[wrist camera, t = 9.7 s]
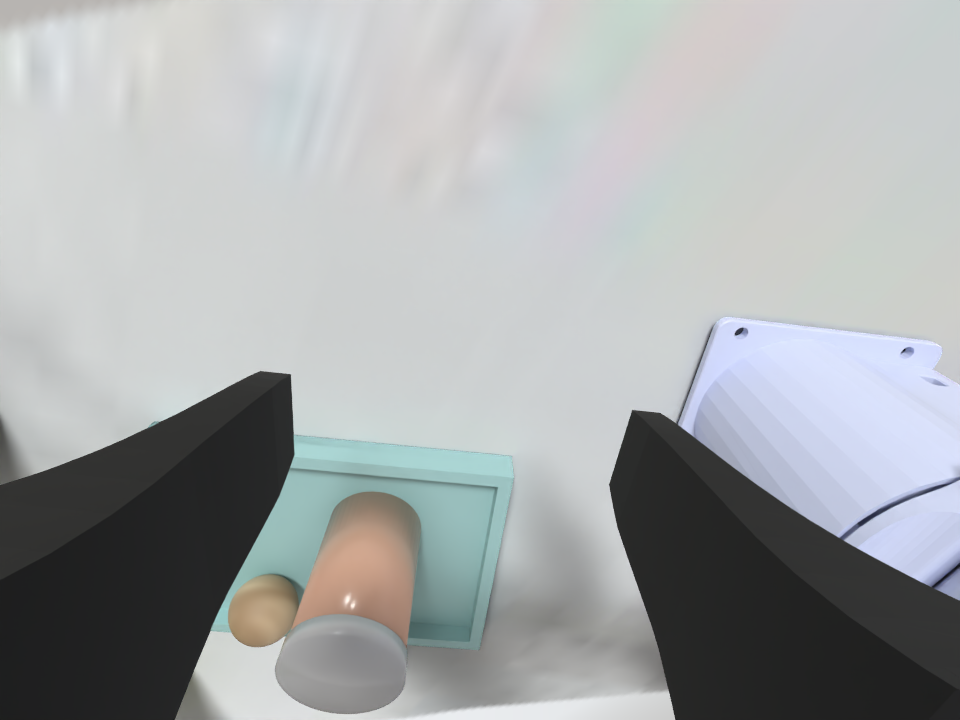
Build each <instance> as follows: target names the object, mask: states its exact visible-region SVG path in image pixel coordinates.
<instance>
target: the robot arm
mask: <svg viewBox="0 0 960 720" xmlns="http://www.w3.org/2000/svg"><path fill="white" fill-rule="evenodd" d="M742 327H744V328H743V331H742V333H741V334H739V335H735V332H736V330H737V329H739V328H742ZM905 348H906V350H905V351H904V352H903V353H901V352H902V350H903V349H905ZM941 355H942V347H941V346H940V345H938V344H936V343H934V342H932V341H927V340H919V339H910V338H902V337H894V336H885V335H877V334H868V333H860V332H851V331H843V330H834V329H826V328H818V327H809V326H801V325H792V324H784V323H775V322H767V321H758V320H750V319H742V318H733V317H725V318H722V319H720V320H719V321H718V322H716V324H715V325H714V327H713V330H712V332H711V335H710V338H709V341H708V343H707V346H706V349H705V352H704V354H703V357H702V360H701V363H700V365H699V368H698V371H697V374H696V376H695V379H694V382H693V385H692V387H691V390H690V393H689V396H688V398H687V401H686V404H685V407H684V409H683V412H682V415H681V418H680V420H679V423H678V425H677V424H676V423H675V422H673V421H672V420H670V419H669V418H667V417H666V416H664V415H662V414H661V413H655V412H646V411H636V410H632V413H631V416H630V419H629V422H628V426H627V429H626V432H625V435H624V439H623V442H622V445H621V448H620V451H619V455H618V458H617V461H616V464H615V468H614V471H613V474H612V477H611V480H610V484H609V486H610V492H611V497H612V503H613V508H614V513H615V518H616V522H617V527H618V530H619V533H620V536H621V539H622V542H623V545H624V548H625V551H626V554H627V557H628V560H629V562H630V565H631V568H632V571H633V574H634V577H635V580H636V582H637V585H638V588H639V591H640V594H641V597H642V599H643V602H644V605H645V608H646V611H647V614H648V617H649V619H650V622H651V625H652V628H653V632H654V635H655V638H656V641H657V645H658V648H659V652H660V656H661V660H662V664H663V668H664V673H665V677H666V681H667V685H668V689H669V693H670V697H671V702H672V706H673V710H674V715H675V720H960V385H959V384H958V383H956V382H954V381H952V380H951V379H949V378H947V377H945V376H944V375H942V374H940V373H939V372H937V371H935V370H933V369H934V367H935V365H936V364H937V362H938V360H939V359H940V357H941ZM294 455H295V452H294V432H293V411H292V391H291V374H282V373H273V372H263V371H260V372H258V373H255V374H253V375H251V376H249V377H247V378H245V379H243V380H241V381H239V382H237V383H235V384H233V385H231V386H229V387H227V388H226V389H224V390H222V391H220V392H218V393H216V394H214V395H212V396H211V397H209V398H207V399H205V400H203V401H201V402H199V403H197V404H195V405H193V406H191V407H190V408H188V409H186V410H184V411H182V412H180V413H178V414H176V415H174V416H172V417H170V418H168V419H166V420H164V421H161V422H159V423H157V424H155V425H153V426H151V427H149V428H147V429H145V430H143V431H141V432H138V433H136V434H134V435H132V436H130V437H128V438H126V439H124V440H121V441H119V442H117V443H114V444H112V445H110V446H107V447H105V448H103V449H100V450H98V451H95V452H93V453H91V454H88V455H85V456H83V457H80V458H78V459H75V460H72V461H70V462H67V463H65V464H62V465H60V466H57V467H54V468H51V469H49V470H46V471H43V472H40V473H37V474H34V475H31V476H28V477H25V478H22V479H19V480H16V481H13V482H9V483H6V484H3V485H0V720H175V717H176V715H177V712H178V710H179V707H180V705H181V702H182V700H183V697H184V694H185V692H186V689H187V687H188V684H189V682H190V679H191V677H192V674H193V672H194V669H195V667H196V664H197V662H198V659H199V657H200V655H201V652H202V650H203V647H204V645H205V643H206V640H207V638H208V635H209V633H210V631H211V628H212V626H213V623H214V621H215V619H216V616H217V614H218V612H219V610H220V608H221V606H222V604H223V602H224V600H225V598H226V596H227V594H228V592H229V590H230V588H231V586H232V584H233V582H234V580H235V579H236V577H237V575H238V573H239V571H240V569H241V567H242V566H243V564H244V562H245V560H246V558H247V556H248V554H249V553H250V551H251V549H252V547H253V545H254V543H255V541H256V540H257V538H258V536H259V534H260V532H261V530H262V528H263V527H264V525H265V523H266V521H267V519H268V517H269V515H270V513H271V511H272V510H273V508H274V506H275V504H276V502H277V500H278V498H279V496H280V493H281V491H282V488H283V485H284V483H285V480H286V478H287V475H288V472H289V469H290V466H291V464H292V461H293V458H294Z"/></svg>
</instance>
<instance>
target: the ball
mask: <svg viewBox="0 0 960 720" xmlns="http://www.w3.org/2000/svg"><path fill="white" fill-rule="evenodd" d="M298 609H299V599H298V594H297V592H296V589H295V588H294V586H293V585H292V584H291V583H290V582H289V581H288V580H287V579H285V578H284V577H282V576H279V575H275V574H265V575H260V576H257V577H254V578H252V579H250V580H249V581H247V582H246V583H245V584H243V585H242V586H241V587H240V588H239V589H238V591H237V592H236V593H235V595H234V597H233V598H232V601H231V603H230V606H229V610H228V624H229V628H230V630H231V632H232V634H233V636H234V637H235V638H236V639H237V640H238V641H239V642H241V643H243V644H244V645H247V646H251V647H264V646H268V645H271V644H273V643H275V642H277V641H278V640H280V639H281V638H283V637H284V636H285V635H286V634H287V633H288V631H289V630H290V629H291V628H292V626H293V623H294V620H295V617H296V614H297V611H298Z"/></svg>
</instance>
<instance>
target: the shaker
mask: <svg viewBox="0 0 960 720" xmlns="http://www.w3.org/2000/svg"><path fill="white" fill-rule="evenodd" d="M420 537H421V522H420V518H419V516H418V514H417V513H416V511H415V510H414V509H413V508H412V507H411V506H410V505H409V504H408V503H407V502H405V501H404V500H402V499H400V498H398V497H396V496H394V495H391V494H387V493H383V492H374V491H372V492H361V493H357V494H353V495H351V496H349V497H347V498H345V499H343V500H342V501H341V502H340V503H338V504H337V506H336V507H335V508H334V510H333V512H332V514H331V517H330V520H329V523H328V525H327V528H326V531H325V534H324V537H323V540H322V543H321V546H320V548H319V551H318V554H317V557H316V560H315V563H314V566H313V568H312V571H311V574H310V577H309V580H308V583H307V586H306V588H305V591H304V594H303V597H302V600H301V603H300V606H299V609H298V611H297V614H296V617H295V620H294V623H293V626H292V629H291V631H290V632H289V633H288V634H287V636H286V638H285V640H284V643H283V646H282V649H281V651H280V654H279V657H278V660H277V663H276V666H275V674H276V678H277V681H278V683H279V685H280V686H281V688H282V689H283V690H284V691H285V692H286V693H287V694H288V695H289V696H290V697H292V698H293V699H294V700H296V701H298V702H300V703H301V704H304V705H306V706H308V707H311V708H313V709H317V710H320V711H324V712H329V713H337V714H357V713H364V712H369V711H373V710H376V709H379V708H382V707H384V706H386V705H388V704H389V703H391V702H392V701H394V700H395V699H396V698H397V697H398V696H399V695H400V693H401V692H402V690H403V688H404V685H405V678H406V670H407V662H408V653H407V649H406V648H407V640H408V632H409V624H410V616H411V608H412V600H413V593H414V585H415V577H416V569H417V561H418V553H419V545H420Z"/></svg>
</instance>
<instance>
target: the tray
mask: <svg viewBox="0 0 960 720" xmlns="http://www.w3.org/2000/svg"><path fill="white" fill-rule="evenodd" d="M157 423H159V422H153V423H152V424H151V425H150V426H149V427H151V426H153V425H155V424H157ZM149 427H148V428H149ZM294 452H295V455H294V458H293V461H292V464H291V466H290V469H289V472H288V475H287V478H286V480H285V483H284V485H283V488H282V491H281V493H280V496H279V498H278V500H277V502H276V504H275V506H274V508H273V510H272V511H271V513H270V515H269V517H268V519H267V521H266V523H265V525H264V527H263V528H262V530H261V532H260V534H259V536H258V538H257V540H256V541H255V543H254V545H253V547H252V549H251V551H250V553H249V554H248V556H247V558H246V560H245V562H244V564H243V566H242V567H241V569H240V571H239V573H238V575H237V577H236V579H235V580H234V582H233V584H232V586H231V588H230V590H229V592H228V594H227V596H226V598H225V600H224V602H223V604H222V606H221V608H220V610H219V612H218V614H217V616H216V619H215V621H214V623H213V626H212V628H211V631H218V632H231V630H230V628H229V624H228V610H229V606H230V603H231V601H232V598H233V597H234V595H235V593H236V592H237V591H238V589H239V588H240V587H241V586H242V585H243V584H245V583H246V582H247V581H249V580H250V579H252V578H254V577H257V576H260V575H265V574H275V575H279V576H282V577H284V578H285V579H287V580H288V581H289V582H290V583H291V584H292V585H293V586H294V588H295V589H296V592H297V594H298V599H299V606H300V603H301V600H302V597H303V594H304V591H305V588H306V586H307V583H308V580H309V577H310V574H311V571H312V568H313V566H314V563H315V560H316V557H317V554H318V551H319V548H320V546H321V543H322V540H323V537H324V534H325V531H326V528H327V525H328V523H329V520H330V517H331V514H332V512H333V510H334V508H335V507H336V506H337V504H338V503H340V502H341V501H342V500H343V499H345V498H347V497H349V496H351V495H353V494H357V493H361V492H372V491H374V492H383V493H387V494H391V495H394V496H396V497H398V498H400V499H402V500H404V501H405V502H407V503H408V504H409V505H410V506H411V507H412V508H413V509H414V510H415V511H416V513H417V514H418V516H419V518H420V522H421V537H420V545H419V553H418V561H417V569H416V577H415V585H414V593H413V600H412V608H411V616H410V624H409V632H408V640H407V645H414V646H428V647H442V648H456V649H470V650H479V649H480V644H481V639H482V634H483V629H484V624H485V619H486V614H487V609H488V604H489V599H490V594H491V589H492V584H493V579H494V574H495V569H496V564H497V559H498V554H499V549H500V544H501V539H502V534H503V529H504V524H505V519H506V514H507V509H508V504H509V499H510V494H511V489H512V484H513V479H514V475H513V465H512V456H504V455H494V454H483V453H473V452H463V451H452V450H442V449H432V448H422V447H411V446H401V445H391V444H380V443H370V442H360V441H349V440H339V439H329V438H318V437H308V436H298V435H294ZM291 629H292V628H291ZM291 629H290V630H289V631H288V633H289V632H290V631H291ZM288 633H287V634H288ZM287 634H286V635H285V636H287Z"/></svg>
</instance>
